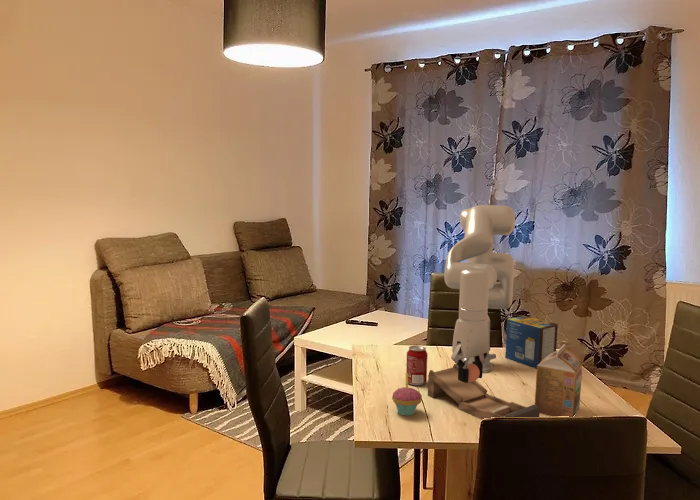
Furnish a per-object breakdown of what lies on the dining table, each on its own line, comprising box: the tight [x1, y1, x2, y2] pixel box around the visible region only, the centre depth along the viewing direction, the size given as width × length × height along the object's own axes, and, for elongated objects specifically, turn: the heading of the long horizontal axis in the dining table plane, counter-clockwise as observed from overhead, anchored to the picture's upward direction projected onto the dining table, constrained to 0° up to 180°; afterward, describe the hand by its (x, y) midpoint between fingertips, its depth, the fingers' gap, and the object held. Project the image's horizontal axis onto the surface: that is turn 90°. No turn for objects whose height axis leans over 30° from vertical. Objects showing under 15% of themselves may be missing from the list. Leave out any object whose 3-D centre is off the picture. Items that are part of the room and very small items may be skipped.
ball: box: [467, 363, 480, 382], centre depth 155 cm, size 5×5×5 cm
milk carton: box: [534, 343, 584, 417], centre depth 166 cm, size 11×10×19 cm
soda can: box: [405, 345, 428, 387], centre depth 187 cm, size 7×7×12 cm
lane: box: [427, 363, 540, 420], centre depth 167 cm, size 32×12×8 cm, turn 37°
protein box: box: [504, 315, 559, 370], centre depth 212 cm, size 10×15×16 cm
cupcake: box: [391, 369, 423, 416], centre depth 163 cm, size 9×8×12 cm
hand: (470, 378), depth 155 cm, fingers closed on ball, 4 cm apart
